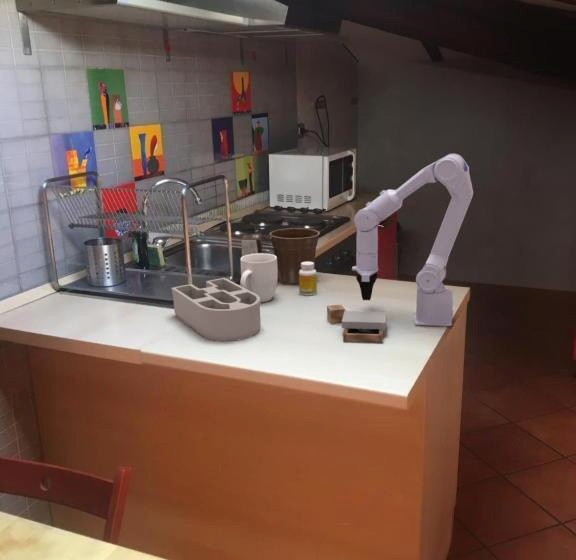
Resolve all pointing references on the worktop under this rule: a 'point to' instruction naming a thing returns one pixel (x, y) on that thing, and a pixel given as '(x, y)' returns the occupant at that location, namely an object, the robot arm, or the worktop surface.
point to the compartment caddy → (218, 309)
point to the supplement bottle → (307, 279)
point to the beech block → (335, 314)
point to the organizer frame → (362, 337)
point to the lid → (364, 320)
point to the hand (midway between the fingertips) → (366, 299)
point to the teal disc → (364, 330)
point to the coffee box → (251, 244)
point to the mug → (259, 274)
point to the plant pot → (293, 251)
